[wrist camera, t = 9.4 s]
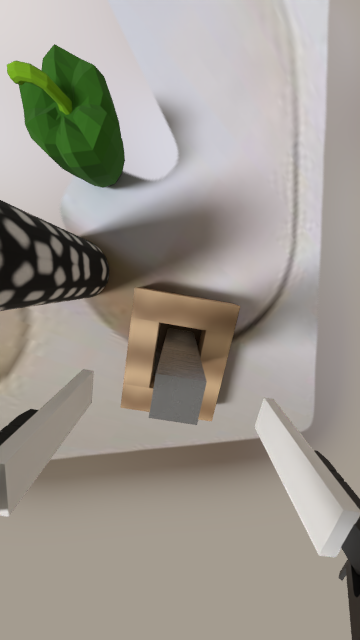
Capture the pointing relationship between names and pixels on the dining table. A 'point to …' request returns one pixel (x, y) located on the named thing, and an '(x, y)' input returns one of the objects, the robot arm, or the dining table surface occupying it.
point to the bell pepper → (71, 115)
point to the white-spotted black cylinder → (45, 262)
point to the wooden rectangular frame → (180, 311)
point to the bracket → (178, 380)
